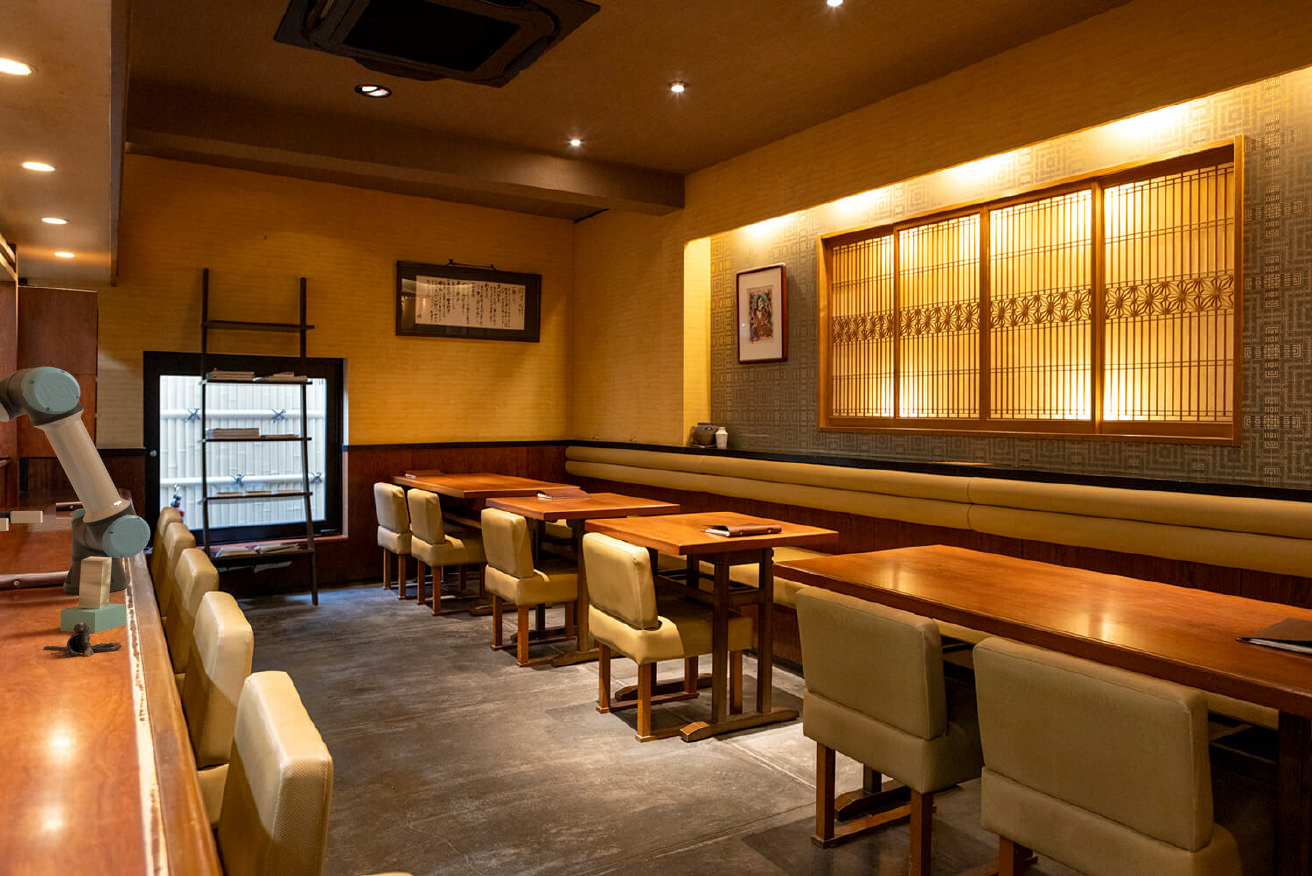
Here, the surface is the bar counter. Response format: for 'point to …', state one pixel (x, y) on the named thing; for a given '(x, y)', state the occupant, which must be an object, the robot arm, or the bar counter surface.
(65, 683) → the bar counter surface
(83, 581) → the block
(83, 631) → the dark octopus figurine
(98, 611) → the green square block
